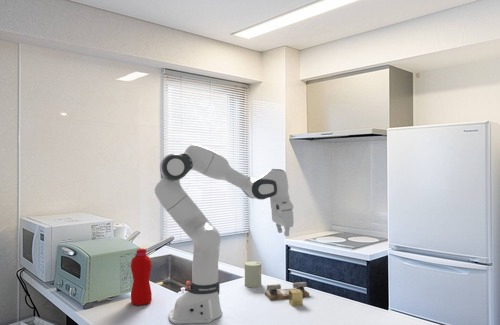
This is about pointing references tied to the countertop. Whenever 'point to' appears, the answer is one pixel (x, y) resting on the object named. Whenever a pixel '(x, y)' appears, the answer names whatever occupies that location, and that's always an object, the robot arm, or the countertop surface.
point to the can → (252, 274)
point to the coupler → (296, 297)
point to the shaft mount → (284, 291)
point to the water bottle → (141, 278)
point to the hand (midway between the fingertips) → (283, 234)
